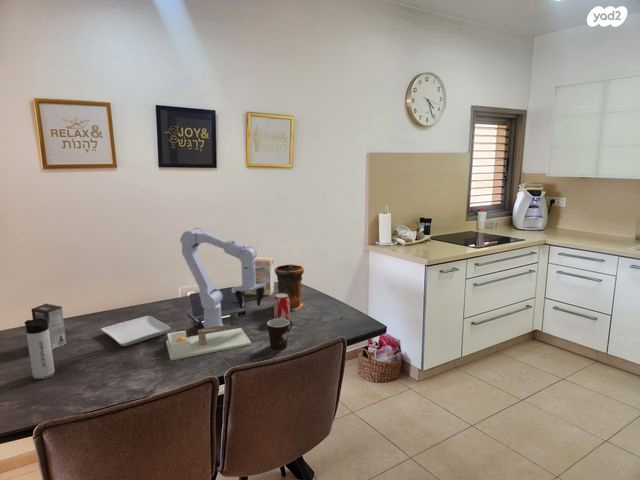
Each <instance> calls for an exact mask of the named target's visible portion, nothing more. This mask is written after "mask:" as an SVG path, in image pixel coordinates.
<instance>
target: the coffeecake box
mask: <svg viewBox="0 0 640 480" xmlns="http://www.w3.org/2000/svg"><path fill="white" fill-rule="evenodd" d="M274 273H275V269H274V258H273V257H258V256H256V258H255V275H256V284H263V283H265V284H266V289H264V294H263V296H271V295H273V293H274V292H275V279H274V277H275V275H274ZM244 295H256V296H257V294H256V290H249V291H244Z"/></svg>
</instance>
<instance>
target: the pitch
mask: <svg viewBox="0 0 640 480" xmlns="http://www.w3.org/2000/svg"><path fill="white" fill-rule="evenodd" d="M205 335H206V344H204V345H201V344H200V342H199V336H198V334H197V335H191V336H186V337H187V341H188V340H189V341H190V351H188V352H183V353H178V354H172V355H171V353H170V349H169V345H168V340H166V341H165V342H166V348H167V352H168V356H169V359H170V361H174V360H179V359H185V358H190V357H195V356H199V355H206V354H211V353H216V352H219V351H220V352H221V351H227V350H232V349H236V348H241V347H247V346H251V345H252V341H251V340H250V339H249V337H248V336H247V334H246V333H245V331H244V330H243V329H242V327H236V328H230V329H224V330H219V331H213V332H209V333H208V332H207V333H205Z"/></svg>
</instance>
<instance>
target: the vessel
mask: <svg viewBox="0 0 640 480" xmlns="http://www.w3.org/2000/svg"><path fill="white" fill-rule="evenodd" d="M304 272H305V269H304V267H303V266H302V265H298V264H294V263H293V264H292V263H291V264H284V265H279V266H276V267H275V268H274V273H275V275H276V278H277V290H278V291H277V294H279V293H285V294H288V297H289V302H290V311H291V310H293V311H294V310H298V309H300V308H301V307H303V306H304V302H302V297H301V296H302V281H303V276H302V275H303V274H304ZM301 303H302V304H301Z"/></svg>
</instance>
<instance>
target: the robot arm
mask: <svg viewBox="0 0 640 480" xmlns="http://www.w3.org/2000/svg"><path fill="white" fill-rule="evenodd" d="M179 242H180V243H181V254H182V256H183V258H184V260H185V261H186V264H187V266H188V267H189V270H190V271H191V274H192V276H193V278H194V280H195V282H196V283H197V284H196V285H197V286H198V288H199V294H198V295H199V298H200V304H201V307H202V308H203V317H204V318H203V320H204V321H202V322H201V323H202V326H203V329H205V328H211V327H217V326H223V325H224V323H223V321H222V305H221V302H222V301H223V299H224V295H223V293H222V292H221V291H220V290H219V289H218V287H217V286H216V285H215V284H213V283H212V281H211V279H210V277H209V276H208V274H207V273H208V272H207V271H206V269H205V267H204V265H203V263H202V260H201V259H200V257H199V255H198V252H197V250H198V248H199V246H200V244H203V243H207V244H210V245H213V246H215V247H218V248H220V249H222V250H223V251H224V253H225V254H227V255H230V256H232V257H235V258H237V259H238V260H239V261H240V263H241V285H239V286H233V287H231V293H232V294H234V295H235V297H236V299H237V303H238V305H239V309H241V310H242V309H243V294H242V292H245V291H249V290H256V294H257V295H256V305H257V306H258V307H260V305H261V302H262V299H263V297H264V295H263V294H264V289H266V284H265V283H263V284H256V275H255V258H256V257H257V255H258V254H257V250H256V249H255V248H253V247H252V246H247V245H245V244H244V245H243V244H240V243H238V242H237V240H235V239H233V240H227V241H226V240H225V239H224V238H223V239H222V238H221V237H219V236H216V234H215V235H214V234H213V233H211V232H208V231H207V230H205V229H202V228H201V227H195V228H192V229H191V230H187V231H184V232H183V233H182V234H181V236H180V238H179Z"/></svg>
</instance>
